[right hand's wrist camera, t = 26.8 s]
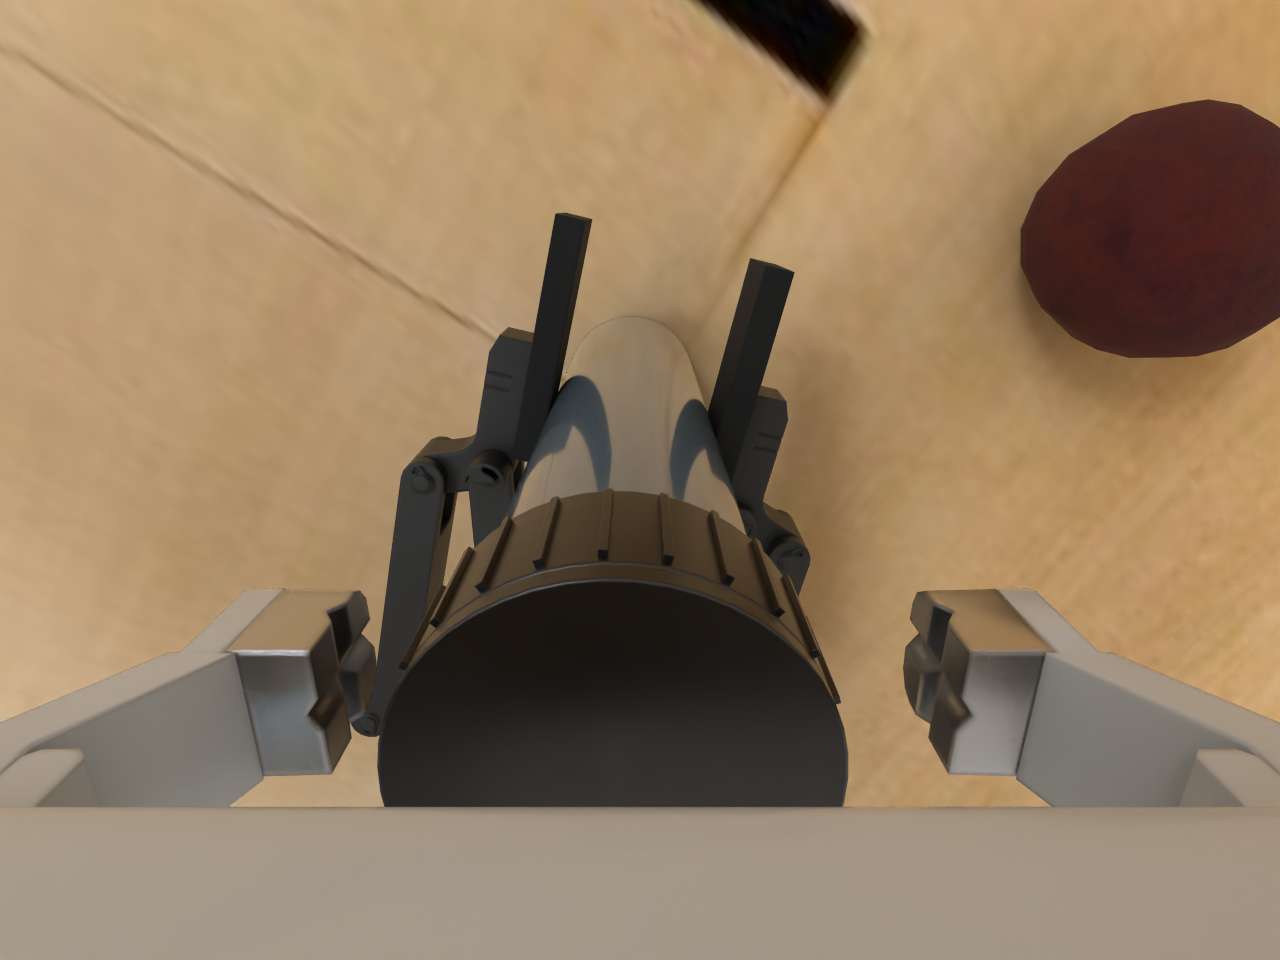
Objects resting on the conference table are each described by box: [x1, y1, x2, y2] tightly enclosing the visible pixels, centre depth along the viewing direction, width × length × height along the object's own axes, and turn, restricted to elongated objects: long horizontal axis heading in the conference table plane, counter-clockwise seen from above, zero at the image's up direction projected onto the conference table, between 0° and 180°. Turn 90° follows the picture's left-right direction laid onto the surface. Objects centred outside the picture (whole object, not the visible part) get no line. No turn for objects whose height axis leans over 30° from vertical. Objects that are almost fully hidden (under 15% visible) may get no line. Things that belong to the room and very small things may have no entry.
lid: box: [377, 488, 848, 807], centre depth 9 cm, size 5×5×2 cm
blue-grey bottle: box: [504, 316, 748, 536], centre depth 18 cm, size 5×5×20 cm
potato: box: [1021, 99, 1280, 358], centre depth 22 cm, size 7×8×7 cm
